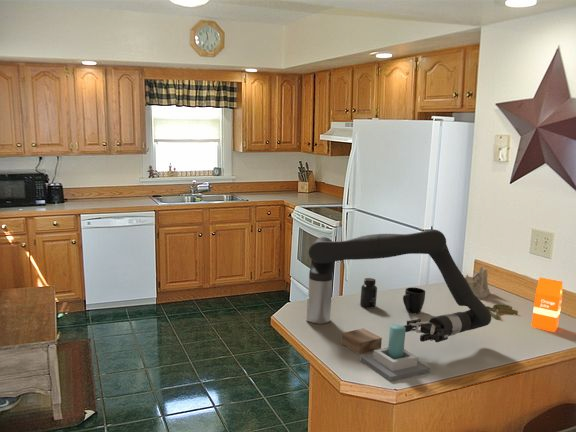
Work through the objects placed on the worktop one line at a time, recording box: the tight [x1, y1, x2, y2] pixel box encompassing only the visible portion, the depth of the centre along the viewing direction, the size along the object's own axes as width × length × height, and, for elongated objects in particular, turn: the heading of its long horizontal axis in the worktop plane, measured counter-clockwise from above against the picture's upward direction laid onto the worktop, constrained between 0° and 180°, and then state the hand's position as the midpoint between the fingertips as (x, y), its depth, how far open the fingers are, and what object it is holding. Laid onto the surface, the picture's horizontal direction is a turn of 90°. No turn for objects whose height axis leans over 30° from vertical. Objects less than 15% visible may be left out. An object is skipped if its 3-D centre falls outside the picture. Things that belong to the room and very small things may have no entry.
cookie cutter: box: [485, 303, 519, 320], centre depth 239 cm, size 18×12×2 cm, turn 122°
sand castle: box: [464, 266, 490, 299], centre depth 264 cm, size 16×16×15 cm
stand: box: [340, 328, 383, 355], centre depth 197 cm, size 10×10×4 cm
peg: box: [387, 324, 406, 360], centre depth 181 cm, size 5×5×12 cm
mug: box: [402, 287, 426, 315], centre depth 233 cm, size 8×12×10 cm
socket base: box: [359, 346, 431, 382], centre depth 181 cm, size 16×16×4 cm
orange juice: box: [530, 277, 564, 333], centre depth 222 cm, size 8×9×20 cm
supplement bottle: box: [359, 277, 378, 309], centre depth 239 cm, size 7×7×12 cm
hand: (411, 333), depth 184 cm, fingers open, 8 cm apart
